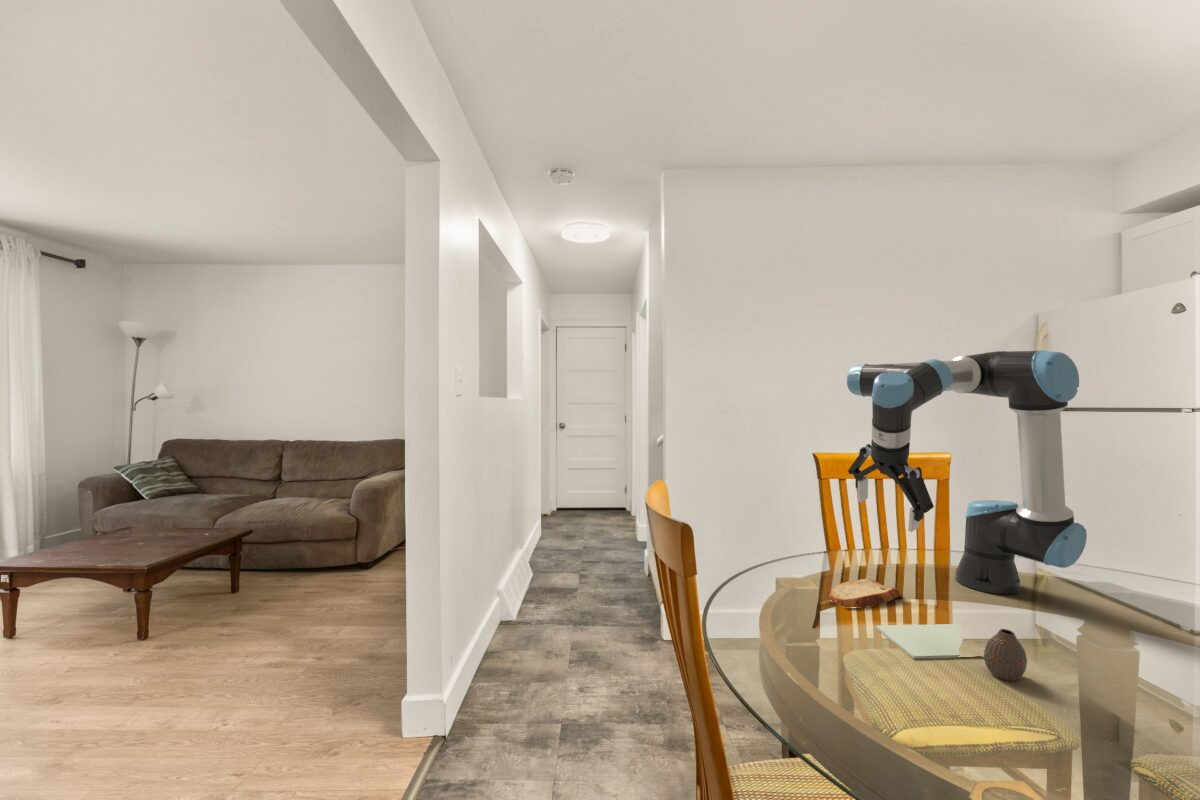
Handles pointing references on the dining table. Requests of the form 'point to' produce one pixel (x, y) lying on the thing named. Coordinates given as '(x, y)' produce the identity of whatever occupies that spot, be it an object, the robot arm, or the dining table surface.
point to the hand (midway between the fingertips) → (887, 513)
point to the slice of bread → (862, 593)
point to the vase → (1005, 656)
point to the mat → (925, 639)
